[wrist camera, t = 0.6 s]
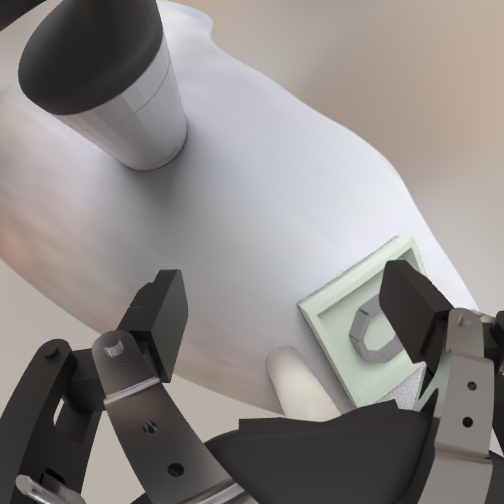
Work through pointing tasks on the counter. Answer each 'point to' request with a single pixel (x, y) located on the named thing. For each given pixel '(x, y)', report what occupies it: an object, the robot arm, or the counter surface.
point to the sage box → (362, 325)
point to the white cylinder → (298, 387)
